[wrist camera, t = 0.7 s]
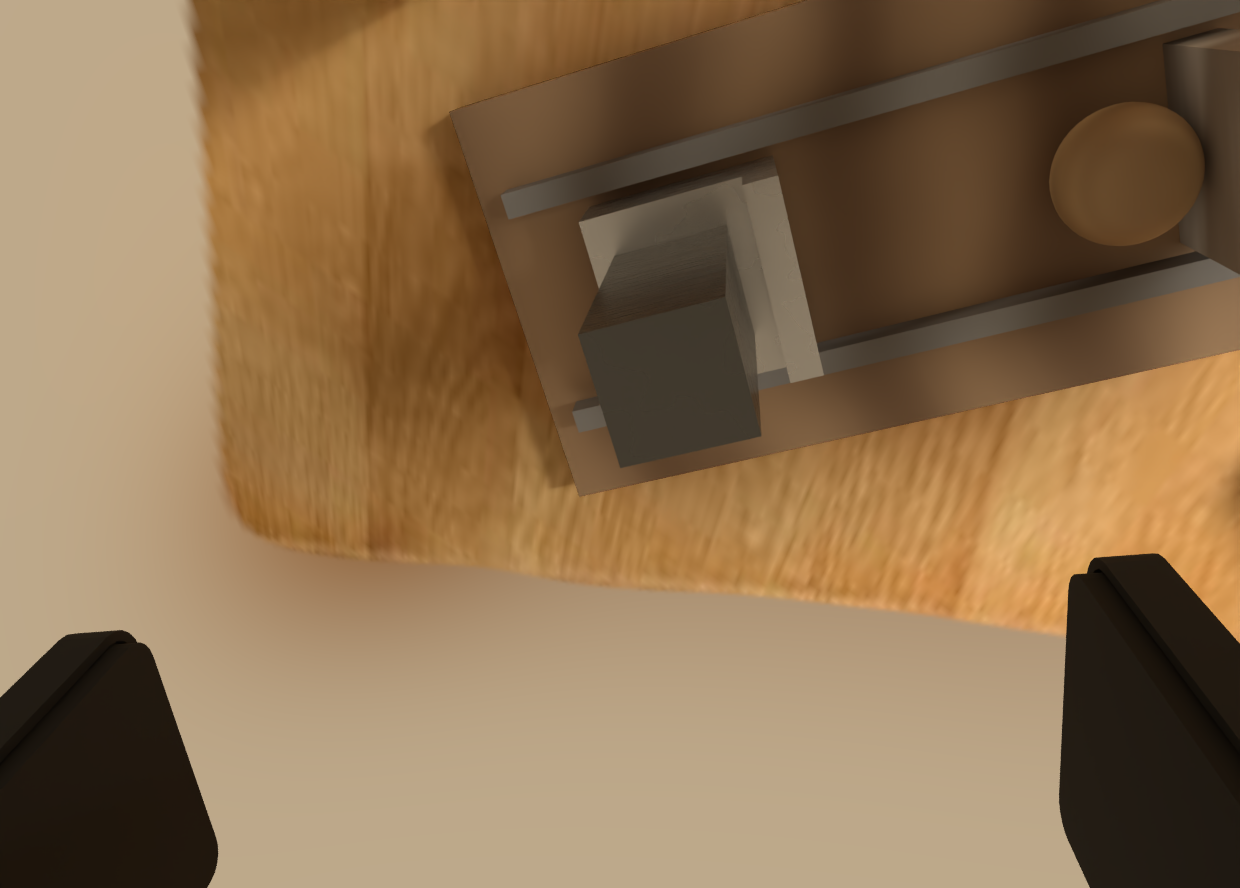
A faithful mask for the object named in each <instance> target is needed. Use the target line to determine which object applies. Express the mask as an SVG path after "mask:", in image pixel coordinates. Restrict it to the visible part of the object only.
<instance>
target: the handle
mask: <svg viewBox="0 0 1240 888" xmlns="http://www.w3.org/2000/svg"><path fill="white" fill-rule="evenodd" d="M579 225H580V228H581V232H582V235H583V238H584V241H585V245H586V248H587V251H588V254H589V258H590V261H591V264H592V268H593V271H594V274H595V277H596V281H597V284H598V287H599V290H598V292H597V294H596V296H595V299H594V301H593V303H592V305H591V307H590V309H589V312H588V314H587V316H586V318H585V320H584V322H583V324H582V327H581V329H580V331H579V333H578V337H579V340H580V343H581V346H582V349H583V353H584V356H585V359H586V362H587V365H588V368H589V371H590V375H591V378H592V381H593V384H594V387H595V390H596V393H597V397H598V400H599V403H600V406H601V409H602V412H603V415H604V419H605V422H606V425H607V428H608V431H609V434H610V437H611V441H612V444H613V447H614V450H615V453H616V456H617V459H618V463H619V466H620V468H624V467H628V466H633V465H637V464H642V463H646V462H650V461H655V460H659V459H664V458H668V457H672V456H677V455H681V454H686V453H690V452H695V451H699V450H703V449H708V448H712V447H717V446H721V445H725V444H730V443H734V442H739V441H743V440H748V439H752V438H756V437H761V436H762V435H761V419H760V404H759V389H758V374H760V373H764V372H768V371H772V370H776V369H781V368H785V367H787V371H788V375H789V379H790V383H793V382H798V381H802V380H806V379H810V378H815V377H819V376H823V375H824V373H823V369H822V365H821V360H820V356H819V352H818V347H817V343H816V339H815V334H814V330H813V326H812V321H811V317H810V312H809V308H808V304H807V299H806V295H805V291H804V286H803V282H802V278H801V273H800V269H799V265H798V260H797V256H796V251H795V247H794V243H793V238H792V234H791V230H790V225H789V221H788V217H787V212H786V208H785V204H784V199H783V195H782V191H781V186H780V182H779V177H778V173H777V170H776V166H775V162H774V158H773V155H772V156H768V157H764V158H761V159H757V160H754V161H750V162H747V163H743V164H740V165H736V166H733V167H729V168H725V169H722V170H718V171H715V172H711V173H708V174H704V175H701V176H697V177H693V178H690V179H686V180H683V181H679V182H676V183H672V184H669V185H665V186H662V187H658V188H654V189H651V190H647V191H644V192H640V193H637V194H633V195H630V196H626V197H623V198H619V199H615V200H612V201H608V202H605V203H601V204H598V205H594V206H591V207H589V208H588V210H587V211H586V212H585V214H584V215H583V217H582V218H581V220H580V221H579Z"/></svg>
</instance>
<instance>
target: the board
mask: <svg viewBox="0 0 1240 888" xmlns="http://www.w3.org/2000/svg"><path fill="white" fill-rule="evenodd" d="M449 113H450V115H451V118H452V121H453V124H454V127H455V130H456V133H457V136H458V139H459V142H460V145H461V148H462V151H463V154H464V157H465V160H466V163H467V166H468V169H469V172H470V175H471V178H472V181H473V183H474V186H475V189H476V192H477V195H478V198H479V201H480V204H481V207H482V210H483V213H484V216H485V219H486V222H487V225H488V228H489V231H490V234H491V237H492V240H493V243H494V246H495V249H496V251H497V254H498V257H499V260H500V263H501V266H502V269H503V272H504V275H505V278H506V281H507V284H508V287H509V290H510V293H511V296H512V299H513V302H514V305H515V308H516V311H517V314H518V317H519V319H520V322H521V325H522V328H523V331H524V334H525V337H526V340H527V343H528V346H529V349H530V352H531V355H532V358H533V361H534V364H535V367H536V370H537V373H538V376H539V379H540V382H541V385H542V387H543V390H544V393H545V396H546V399H547V402H548V405H549V408H550V411H551V414H552V417H553V420H554V423H555V426H556V429H557V432H558V435H559V438H560V441H561V444H562V447H563V450H564V453H565V456H566V458H567V461H568V464H569V467H570V470H571V473H572V476H573V479H574V482H575V485H576V488H577V491H578V494H579V497H580V496H585V495H589V494H594V493H598V492H603V491H607V490H612V489H616V488H621V487H625V486H630V485H634V484H639V483H643V482H648V481H652V480H657V479H661V478H666V477H670V476H675V475H679V474H684V473H688V472H693V471H697V470H702V469H706V468H711V467H715V466H720V465H724V464H729V463H733V462H738V461H742V460H747V459H751V458H756V457H760V456H765V455H769V454H774V453H778V452H783V451H787V450H792V449H796V448H801V447H805V446H810V445H814V444H819V443H823V442H828V441H832V440H837V439H841V438H846V437H850V436H855V435H859V434H864V433H868V432H873V431H877V430H882V429H886V428H891V427H895V426H900V425H904V424H909V423H913V422H918V421H922V420H927V419H931V418H936V417H940V416H945V415H949V414H954V413H958V412H963V411H967V410H972V409H976V408H981V407H985V406H990V405H994V404H999V403H1003V402H1008V401H1012V400H1017V399H1021V398H1026V397H1030V396H1035V395H1039V394H1044V393H1048V392H1053V391H1057V390H1062V389H1066V388H1071V387H1075V386H1080V385H1084V384H1089V383H1093V382H1098V381H1102V380H1107V379H1111V378H1116V377H1120V376H1125V375H1129V374H1134V373H1138V372H1143V371H1147V370H1152V369H1156V368H1161V367H1165V366H1170V365H1174V364H1179V363H1183V362H1188V361H1192V360H1197V359H1201V358H1206V357H1210V356H1215V355H1219V354H1223V353H1228V352H1232V351H1237V350H1240V0H805V1H802V2H798V3H795V4H792V5H789V6H785V7H782V8H779V9H776V10H773V11H769V12H766V13H763V14H760V15H757V16H753V17H750V18H747V19H744V20H740V21H737V22H734V23H731V24H728V25H724V26H721V27H718V28H715V29H711V30H708V31H705V32H702V33H699V34H695V35H692V36H689V37H686V38H683V39H679V40H676V41H673V42H670V43H666V44H663V45H660V46H657V47H654V48H650V49H647V50H644V51H641V52H638V53H634V54H631V55H628V56H625V57H621V58H618V59H615V60H612V61H609V62H605V63H602V64H599V65H596V66H592V67H589V68H586V69H583V70H580V71H576V72H573V73H570V74H567V75H564V76H560V77H557V78H554V79H551V80H547V81H544V82H541V83H538V84H535V85H531V86H528V87H525V88H522V89H518V90H515V91H512V92H509V93H506V94H502V95H499V96H496V97H493V98H490V99H486V100H483V101H480V102H477V103H473V104H470V105H467V106H464V107H461V108H458V109H456V110H453V111H450V112H449ZM772 155H773V158H774V162H775V166H776V170H777V173H778V177H779V182H780V186H781V191H782V195H783V199H784V204H785V208H786V212H787V217H788V221H789V225H790V230H791V234H792V238H793V243H794V247H795V251H796V256H797V260H798V265H799V269H800V273H801V278H802V282H803V286H804V291H805V295H806V299H807V304H808V308H809V312H810V317H811V321H812V326H813V330H814V334H815V339H816V343H817V347H818V352H819V356H820V360H821V365H822V369H823V373H824V375H823V376H819V377H815V378H810V379H806V380H802V381H798V382H793V383H790V379H789V375H788V371H787V367H785V368H781V369H776V370H772V371H768V372H764V373H760V374H758V389H759V404H760V419H761V435H762V436H761V437H756V438H752V439H748V440H743V441H739V442H734V443H730V444H725V445H721V446H717V447H712V448H708V449H703V450H699V451H695V452H690V453H686V454H681V455H677V456H672V457H668V458H664V459H659V460H655V461H650V462H646V463H642V464H637V465H633V466H628V467H624V468H620V466H619V463H618V459H617V456H616V453H615V450H614V447H613V444H612V441H611V437H610V434H609V431H608V428H607V425H606V422H605V419H604V415H603V412H602V409H601V406H600V403H599V400H598V397H597V393H596V390H595V387H594V384H593V381H592V378H591V375H590V371H589V368H588V365H587V362H586V359H585V356H584V353H583V349H582V346H581V343H580V340H579V337H578V333H579V331H580V329H581V327H582V324H583V322H584V320H585V318H586V316H587V314H588V312H589V309H590V307H591V305H592V303H593V301H594V299H595V296H596V294H597V292H598V290H599V287H598V284H597V281H596V277H595V274H594V271H593V268H592V264H591V261H590V258H589V254H588V251H587V248H586V245H585V241H584V238H583V235H582V232H581V228H580V225H579V221H580V220H581V218H582V217H583V215H584V214H585V212H586V211H587V210H588V208H589V207H591V206H594V205H598V204H601V203H605V202H608V201H612V200H615V199H619V198H623V197H626V196H630V195H633V194H637V193H640V192H644V191H647V190H651V189H654V188H658V187H662V186H665V185H669V184H672V183H676V182H679V181H683V180H686V179H690V178H693V177H697V176H701V175H704V174H708V173H711V172H715V171H718V170H722V169H725V168H729V167H733V166H736V165H740V164H743V163H747V162H750V161H754V160H757V159H761V158H764V157H768V156H772Z"/></svg>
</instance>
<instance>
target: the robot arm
mask: <svg viewBox="0 0 1240 888" xmlns="http://www.w3.org/2000/svg"><path fill="white" fill-rule="evenodd" d="M1059 804H1060V813H1061V818H1062V823H1063V827H1064V830H1065V833H1066V836H1067V839H1068V841H1069V843H1070V845H1071V847H1072V850H1073V852H1074V854H1075V856H1076V859H1077V861H1078V863H1079V865H1080V867H1081V869H1082V871H1083V874H1084V876H1085V878H1086V880H1087V882H1088V885H1089V887H1090V888H1240V643H1239V642H1238V641H1237V640H1236V639H1235V638H1234V637H1233V636H1232V634H1231V633H1230V632H1229V631H1228V630H1227V629H1226V628H1225V626H1224V625H1223V624H1222V623H1221V622H1220V621H1219V620H1218V619H1217V617H1216V616H1215V615H1214V614H1213V613H1212V612H1211V611H1210V609H1209V608H1208V607H1207V606H1206V605H1205V604H1204V603H1203V601H1202V600H1201V599H1200V598H1199V597H1198V596H1197V595H1196V594H1195V592H1194V591H1193V590H1192V589H1191V588H1190V587H1189V586H1188V584H1187V583H1186V582H1185V581H1184V580H1183V579H1182V578H1181V577H1180V575H1179V574H1178V573H1177V572H1176V571H1175V570H1174V569H1173V567H1172V566H1171V565H1170V564H1169V563H1168V562H1167V561H1166V559H1165V558H1163V557H1162V556H1161V555H1159V554H1139V555H1126V556H1112V557H1099V558H1094V559H1093V560H1092V561H1091V562H1090V565H1089V567H1088V571H1087V574H1074V575H1073V576H1072V577H1071V580H1070V582H1069V590H1068V611H1067V633H1066V656H1065V677H1064V700H1063V723H1062V744H1061V766H1060V788H1059ZM217 858H218V844H217V840H216V837H215V833H214V830H213V828H212V825H211V822H210V819H209V816H208V813H207V810H206V807H205V804H204V801H203V799H202V796H201V793H200V790H199V787H198V784H197V781H196V778H195V776H194V773H193V770H192V767H191V764H190V761H189V758H188V755H187V753H186V750H185V747H184V744H183V741H182V738H181V735H180V732H179V730H178V727H177V724H176V721H175V718H174V715H173V712H172V709H171V706H170V703H169V700H168V698H167V695H166V692H165V689H164V686H163V683H162V680H161V677H160V675H159V672H158V669H157V666H156V663H155V660H154V657H153V655H152V653H151V651H150V649H149V648H148V647H147V646H146V645H145V644H143V643H137V642H136V639H135V638H134V637H133V636H132V635H131V634H130V633H128V632H126V631H123V630H117V631H104V632H91V633H78V634H70V635H66V636H65V637H63V638H62V639H60V640H59V641H58V642H57V643H56V644H55V645H54V646H53V647H52V648H51V649H50V650H49V651H48V652H47V653H46V654H45V655H43V657H41V658H40V659H39V660H38V661H37V662H36V663H35V664H34V665H33V666H32V667H31V668H30V669H29V670H28V671H27V672H26V673H25V674H24V675H23V676H22V677H21V678H20V679H19V680H18V681H17V682H16V683H15V684H14V685H13V686H12V687H11V688H10V689H9V690H8V691H7V692H6V693H5V694H3V695H2V696H1V697H0V888H207V887H208V885H209V883H210V882H211V880H212V877H213V875H214V873H215V870H216V866H217V860H218V859H217Z"/></svg>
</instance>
